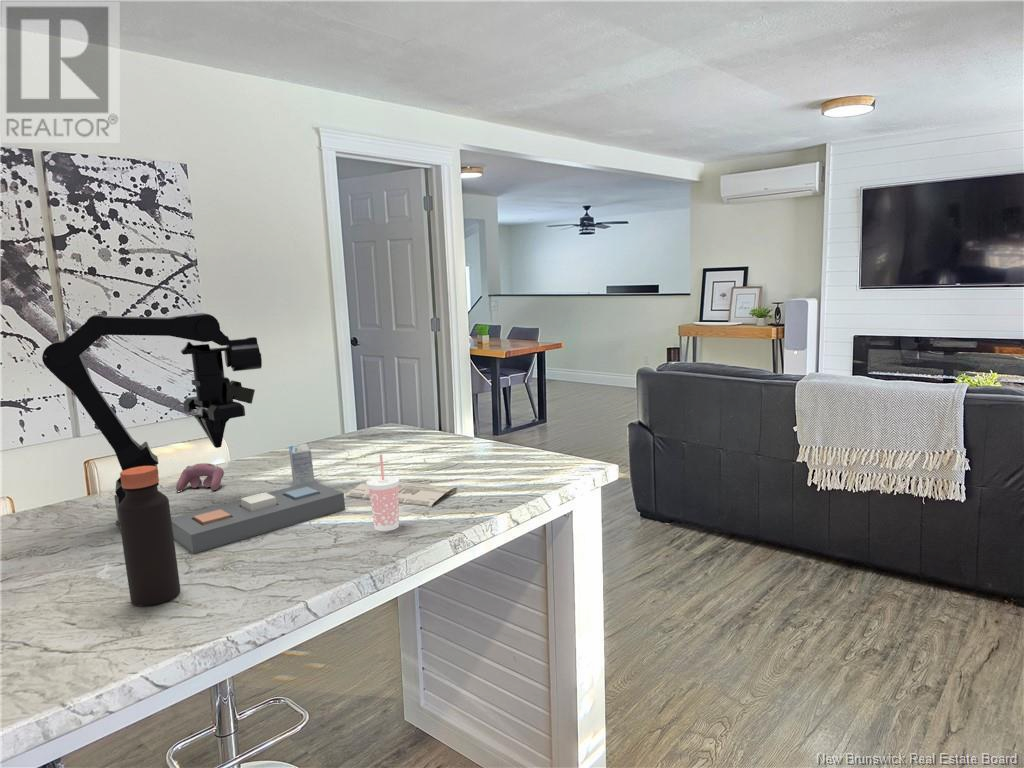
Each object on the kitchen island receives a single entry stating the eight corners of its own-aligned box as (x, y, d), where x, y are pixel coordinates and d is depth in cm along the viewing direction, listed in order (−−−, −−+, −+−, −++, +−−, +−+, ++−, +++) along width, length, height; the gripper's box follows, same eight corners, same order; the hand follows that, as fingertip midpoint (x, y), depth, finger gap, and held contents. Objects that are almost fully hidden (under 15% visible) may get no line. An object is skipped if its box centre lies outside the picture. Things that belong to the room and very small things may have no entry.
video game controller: (224, 493, 163) (227, 464, 165) (214, 490, 158) (218, 460, 160) (184, 494, 164) (188, 465, 166) (173, 491, 159) (177, 461, 161)
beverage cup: (367, 524, 133) (361, 453, 130) (399, 518, 135) (394, 448, 133) (373, 534, 127) (366, 460, 125) (406, 529, 129) (400, 456, 127)
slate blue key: (297, 511, 139) (295, 497, 139) (285, 506, 143) (284, 492, 142) (319, 505, 143) (318, 491, 142) (308, 500, 146) (307, 486, 146)
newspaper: (461, 492, 152) (460, 481, 151) (432, 515, 141) (431, 504, 141) (376, 482, 162) (375, 472, 161) (343, 504, 151) (341, 493, 150)
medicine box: (315, 486, 159) (311, 450, 158) (294, 489, 158) (291, 452, 156) (311, 478, 166) (308, 443, 165) (292, 481, 165) (288, 445, 163)
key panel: (193, 553, 122) (191, 535, 122) (169, 536, 132) (167, 518, 131) (345, 509, 142) (343, 492, 142) (315, 496, 152) (313, 481, 151)
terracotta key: (205, 537, 127) (203, 522, 127) (195, 531, 131) (193, 516, 130) (232, 530, 130) (230, 514, 130) (222, 524, 134) (220, 509, 134)
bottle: (125, 598, 106) (106, 471, 103) (171, 583, 110) (155, 461, 107) (139, 612, 101) (120, 479, 98) (187, 595, 105) (170, 468, 102)
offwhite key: (252, 518, 133) (250, 503, 133) (242, 513, 137) (240, 498, 136) (277, 511, 136) (275, 497, 136) (266, 506, 140) (265, 492, 140)
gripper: (266, 371, 142) (273, 446, 144) (230, 366, 155) (238, 434, 158) (210, 379, 134) (219, 457, 137) (178, 372, 148) (187, 443, 150)
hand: (218, 447), depth 146 cm, fingers closed
